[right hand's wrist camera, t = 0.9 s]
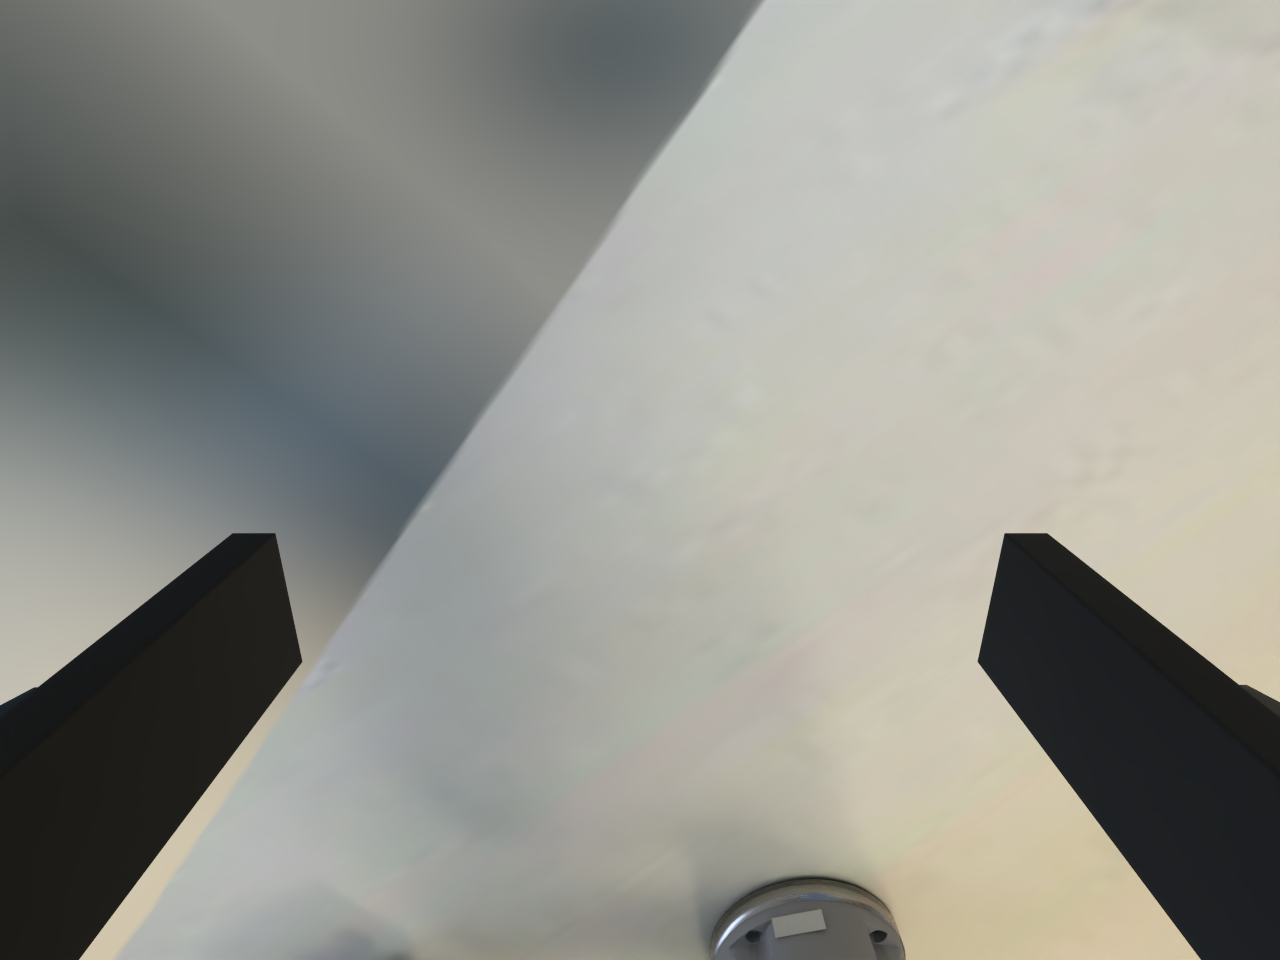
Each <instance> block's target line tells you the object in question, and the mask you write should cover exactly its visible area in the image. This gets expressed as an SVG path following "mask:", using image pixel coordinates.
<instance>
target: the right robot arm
mask: <svg viewBox="0 0 1280 960" xmlns="http://www.w3.org/2000/svg"><path fill="white" fill-rule="evenodd" d="M301 663H302V658H301V653H300V648H299V644H298V639H297V634H296V629H295V625H294V620H293V615H292V611H291V606H290V601H289V596H288V592H287V587H286V582H285V577H284V573H283V568H282V563H281V558H280V553H279V549H278V544H277V539H276V535H275V533H233V534H231V535H230V536H229V537H228V538H226V539H225V540H224V541H223V542H221V543H220V544H219V545H217V546H216V547H215V548H214V549H212V550H211V551H210V552H209V553H207V554H206V555H205V556H204V557H202V558H201V559H200V560H198V561H197V562H196V563H195V564H193V565H192V566H191V567H190V568H188V569H187V570H186V571H185V572H183V573H182V574H181V575H180V576H178V577H177V578H176V579H174V580H173V581H172V582H171V583H169V584H168V585H167V586H166V587H164V588H163V589H162V590H161V591H159V592H158V593H157V594H155V595H154V596H153V597H152V598H150V599H149V600H148V601H147V602H145V603H144V604H143V605H142V606H140V607H139V608H138V609H137V610H135V611H134V612H133V613H131V614H130V615H129V616H128V617H126V618H125V619H124V620H123V621H121V622H120V623H119V624H118V625H116V626H115V627H114V628H112V629H111V630H110V631H109V632H107V633H106V634H105V635H104V636H102V637H101V638H100V639H99V640H97V641H96V642H95V643H94V644H92V645H91V646H90V647H88V648H87V649H86V650H85V651H83V652H82V653H81V654H80V655H78V656H77V657H76V658H75V659H73V660H72V661H71V662H70V663H68V664H67V665H66V666H64V667H63V668H62V669H61V670H59V671H58V672H57V673H56V674H54V675H53V676H52V677H50V678H49V679H48V680H47V681H45V682H44V683H43V684H42V685H40V686H39V687H35V688H32V689H30V690H29V691H27V692H25V693H23V694H21V695H19V696H17V697H15V698H13V699H12V700H10V701H8V702H6V703H4V704H2V705H0V960H79V959H80V958H81V956H82V955H83V953H84V952H85V951H86V949H87V948H88V947H89V945H90V944H91V943H92V942H93V940H94V939H95V938H96V936H97V935H98V934H99V932H100V931H101V929H102V928H103V927H104V925H105V924H106V923H107V921H108V920H109V919H110V918H111V916H112V915H113V914H114V912H115V911H116V909H117V908H118V907H119V905H120V904H121V903H122V902H123V900H124V899H125V897H126V896H127V895H128V893H129V892H130V891H131V889H132V888H133V887H134V885H135V884H136V883H137V881H138V880H139V879H140V877H141V876H142V875H143V873H144V872H145V871H146V869H147V868H148V867H149V865H150V864H151V863H152V861H153V860H154V859H155V857H156V856H157V855H158V853H159V852H160V851H161V849H162V848H163V847H164V845H165V844H166V843H167V841H168V840H169V839H170V837H171V836H172V835H173V833H174V832H175V831H176V829H177V828H178V827H179V825H180V824H181V823H182V821H183V820H184V819H185V817H186V816H187V815H188V813H189V812H190V811H191V809H192V808H193V807H194V805H195V804H196V803H197V801H198V800H199V799H200V797H201V796H202V795H203V793H204V792H205V791H206V789H207V788H208V787H209V785H210V784H211V783H212V781H213V780H214V779H215V777H216V776H217V775H218V773H219V772H220V771H221V769H222V768H223V767H224V765H225V764H226V763H227V761H228V760H229V759H230V757H231V756H232V755H233V753H234V752H235V751H236V749H237V748H238V747H239V745H240V744H241V743H242V741H243V740H244V739H245V737H246V736H247V735H248V733H249V732H250V731H251V729H252V728H253V727H254V725H255V724H256V723H257V721H258V720H259V719H260V717H261V716H262V715H263V713H264V712H265V711H266V709H267V708H268V707H269V705H270V704H271V703H272V701H273V700H274V699H275V697H276V696H277V695H278V693H279V692H280V691H281V689H282V688H283V687H284V685H285V684H286V683H287V681H288V680H289V679H290V677H291V676H292V675H293V673H294V672H295V671H296V669H297V668H298V667H299V665H300V664H301ZM978 663H979V664H980V665H981V667H982V668H983V669H984V671H985V672H986V673H987V675H988V676H989V677H990V679H991V680H992V681H993V683H994V684H995V685H996V687H997V688H998V689H999V691H1000V692H1001V693H1002V695H1003V696H1004V697H1005V699H1006V700H1007V701H1008V703H1009V704H1010V705H1011V707H1012V708H1013V709H1014V711H1015V712H1016V713H1017V715H1018V716H1019V717H1020V719H1021V720H1022V721H1023V723H1024V724H1025V725H1026V727H1027V728H1028V729H1029V731H1030V732H1031V733H1032V735H1033V736H1034V737H1035V739H1036V740H1037V741H1038V743H1039V744H1040V745H1041V747H1042V748H1043V749H1044V751H1045V752H1046V753H1047V755H1048V756H1049V757H1050V759H1051V760H1052V761H1053V763H1054V764H1055V765H1056V767H1057V768H1058V769H1059V771H1060V772H1061V773H1062V775H1063V776H1064V777H1065V779H1066V780H1067V781H1068V783H1069V784H1070V785H1071V787H1072V788H1073V789H1074V791H1075V792H1076V793H1077V795H1078V796H1079V797H1080V799H1081V800H1082V801H1083V803H1084V804H1085V805H1086V807H1087V808H1088V809H1089V811H1090V812H1091V813H1092V815H1093V816H1094V817H1095V819H1096V820H1097V821H1098V823H1099V824H1100V825H1101V827H1102V828H1103V829H1104V831H1105V832H1106V833H1107V835H1108V836H1109V837H1110V839H1111V840H1112V841H1113V843H1114V844H1115V845H1116V847H1117V848H1118V849H1119V851H1120V852H1121V853H1122V855H1123V856H1124V857H1125V859H1126V860H1127V861H1128V863H1129V864H1130V865H1131V867H1132V868H1133V869H1134V871H1135V872H1136V873H1137V875H1138V876H1139V877H1140V879H1141V880H1142V881H1143V883H1144V884H1145V885H1146V887H1147V888H1148V889H1149V891H1150V892H1151V894H1152V895H1153V896H1154V898H1155V899H1156V900H1157V902H1158V903H1159V904H1160V906H1161V907H1162V908H1163V910H1164V911H1165V912H1166V914H1167V915H1168V916H1169V918H1170V919H1171V920H1172V922H1173V923H1174V924H1175V926H1176V927H1177V928H1178V930H1179V931H1180V932H1181V934H1182V935H1183V936H1184V938H1185V939H1186V940H1187V942H1188V943H1189V944H1190V946H1191V947H1192V948H1193V950H1194V951H1195V952H1196V954H1197V955H1198V956H1199V958H1200V959H1201V960H1280V702H1278V701H1276V700H1274V699H1272V698H1270V697H1269V696H1267V695H1265V694H1263V693H1261V692H1259V691H1257V690H1255V689H1253V688H1251V687H1249V686H1248V685H1238V684H1237V683H1236V682H1235V681H1233V680H1232V679H1231V678H1230V677H1228V676H1227V675H1226V674H1224V673H1223V672H1222V671H1221V670H1219V669H1218V668H1217V667H1216V666H1214V665H1213V664H1212V663H1211V662H1209V661H1208V660H1207V659H1205V658H1204V657H1203V656H1202V655H1200V654H1199V653H1198V652H1197V651H1195V650H1194V649H1193V648H1192V647H1190V646H1189V645H1188V644H1187V643H1185V642H1184V641H1183V640H1181V639H1180V638H1179V637H1178V636H1176V635H1175V634H1174V633H1173V632H1171V631H1170V630H1169V629H1168V628H1166V627H1165V626H1164V625H1162V624H1161V623H1160V622H1159V621H1157V620H1156V619H1155V618H1154V617H1152V616H1151V615H1150V614H1149V613H1147V612H1146V611H1145V610H1144V609H1142V608H1141V607H1140V606H1138V605H1137V604H1136V603H1135V602H1133V601H1132V600H1131V599H1130V598H1128V597H1127V596H1126V595H1125V594H1123V593H1122V592H1121V591H1119V590H1118V589H1117V588H1116V587H1114V586H1113V585H1112V584H1111V583H1109V582H1108V581H1107V580H1106V579H1104V578H1103V577H1102V576H1101V575H1099V574H1098V573H1097V572H1095V571H1094V570H1093V569H1092V568H1090V567H1089V566H1088V565H1087V564H1085V563H1084V562H1083V561H1082V560H1080V559H1079V558H1078V557H1076V556H1075V555H1074V554H1073V553H1071V552H1070V551H1069V550H1068V549H1066V548H1065V547H1064V546H1063V545H1061V544H1060V543H1059V542H1057V541H1056V540H1055V539H1054V538H1052V537H1051V536H1050V535H1049V534H1047V533H1005V534H1004V539H1003V544H1002V549H1001V553H1000V558H999V563H998V568H997V572H996V577H995V582H994V587H993V591H992V596H991V601H990V606H989V610H988V615H987V620H986V625H985V629H984V634H983V639H982V644H981V648H980V653H979V658H978ZM710 956H711V960H906V959H905V950H904V946H903V943H902V940H901V937H900V934H899V932H898V929H897V926H896V923H895V921H894V919H893V917H892V915H891V913H890V912H889V910H888V909H887V908H886V907H885V906H884V905H883V904H882V903H881V902H880V901H879V900H878V899H877V898H875V897H874V896H873V895H871V894H869V893H868V892H866V891H864V890H862V889H860V888H857V887H855V886H852V885H849V884H846V883H842V882H837V881H832V880H823V879H801V880H792V881H786V882H782V883H778V884H774V885H771V886H768V887H765V888H762V889H760V890H757V891H755V892H753V893H751V894H749V895H748V896H746V897H744V898H743V899H741V900H740V901H738V902H737V903H736V904H734V905H733V906H732V907H731V908H730V909H729V910H728V911H727V912H726V913H725V914H724V915H723V916H722V918H721V919H720V921H719V922H718V924H717V926H716V927H715V929H714V932H713V934H712V938H711V944H710Z"/></svg>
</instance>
